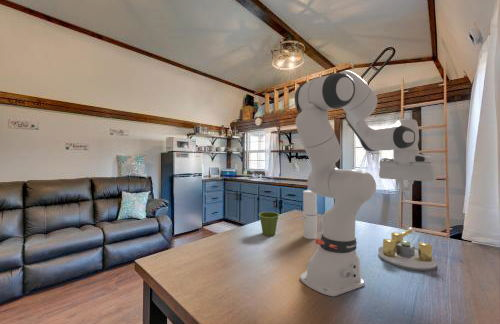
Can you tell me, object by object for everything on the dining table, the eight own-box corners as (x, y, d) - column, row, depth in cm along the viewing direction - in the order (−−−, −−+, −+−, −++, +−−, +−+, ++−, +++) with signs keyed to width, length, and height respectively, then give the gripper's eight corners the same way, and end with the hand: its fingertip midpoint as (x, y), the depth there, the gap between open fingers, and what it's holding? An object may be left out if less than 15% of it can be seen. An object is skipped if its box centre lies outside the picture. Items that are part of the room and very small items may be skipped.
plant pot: (255, 232, 130) (254, 213, 130) (272, 229, 135) (272, 211, 135) (264, 239, 119) (264, 218, 119) (283, 235, 124) (283, 215, 124)
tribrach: (426, 276, 81) (426, 254, 81) (369, 257, 97) (369, 238, 97) (442, 261, 93) (442, 241, 93) (389, 246, 109) (389, 229, 109)
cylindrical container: (313, 240, 118) (313, 192, 117) (301, 237, 122) (301, 191, 122) (318, 236, 123) (318, 191, 123) (306, 233, 128) (306, 190, 127)
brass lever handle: (400, 249, 99) (400, 236, 99) (389, 246, 102) (389, 233, 102) (417, 239, 111) (417, 227, 111) (406, 237, 114) (406, 225, 114)
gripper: (376, 158, 101) (376, 188, 101) (433, 157, 84) (433, 194, 84) (382, 158, 104) (382, 187, 105) (438, 157, 88) (438, 192, 88)
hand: (405, 190), depth 94 cm, fingers closed
